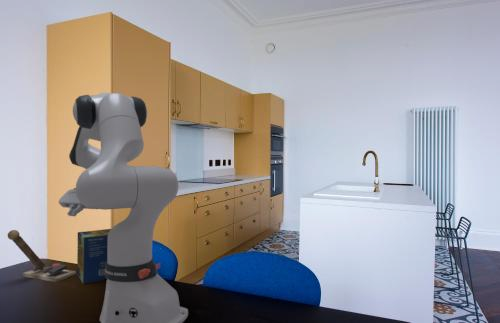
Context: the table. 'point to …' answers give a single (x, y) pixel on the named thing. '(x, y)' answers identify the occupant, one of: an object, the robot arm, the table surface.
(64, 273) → the board
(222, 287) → the table surface
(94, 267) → the protein box
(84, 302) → the table surface
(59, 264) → the button
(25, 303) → the table surface
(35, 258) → the lever
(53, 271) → the block
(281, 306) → the table surface
